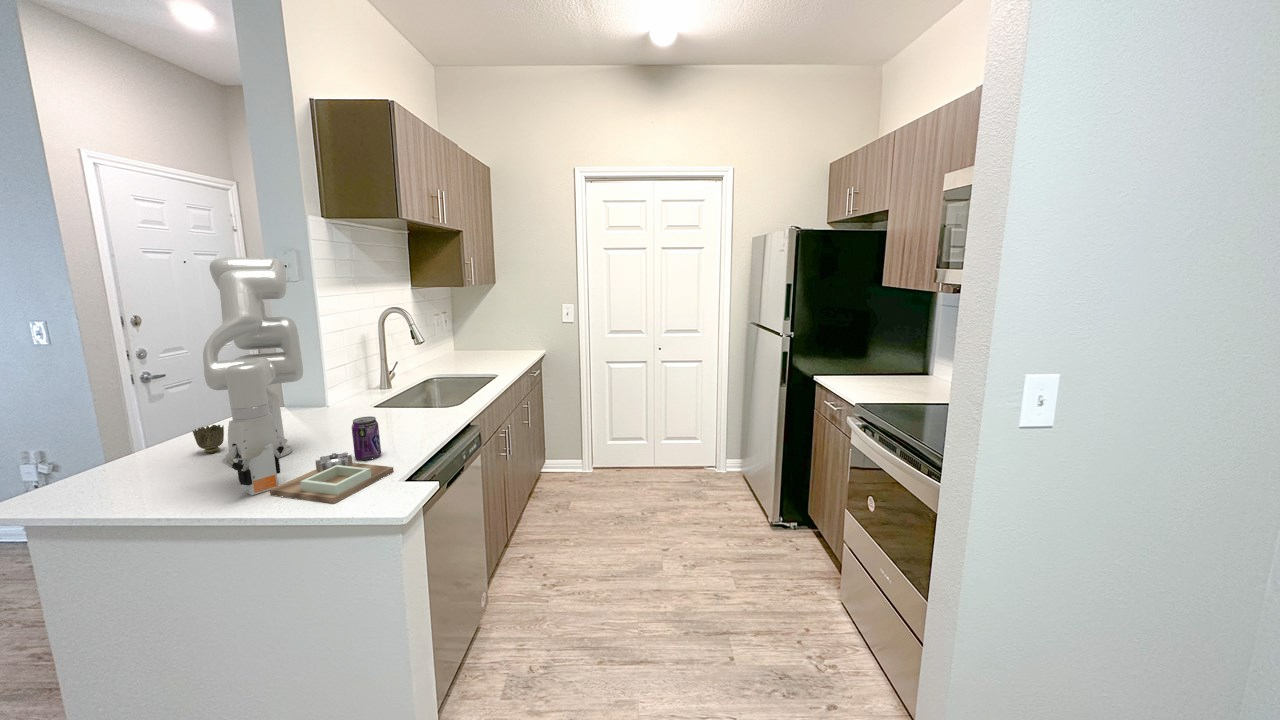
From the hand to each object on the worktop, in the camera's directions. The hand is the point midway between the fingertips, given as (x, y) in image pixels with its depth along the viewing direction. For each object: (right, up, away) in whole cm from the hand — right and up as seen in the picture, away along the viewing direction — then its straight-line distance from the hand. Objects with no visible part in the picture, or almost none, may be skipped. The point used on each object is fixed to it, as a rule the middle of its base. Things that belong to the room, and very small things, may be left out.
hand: (260, 478), depth 129 cm
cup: (-37, +1, +29) cm, 47 cm away
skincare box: (0, -3, +1) cm, 4 cm away
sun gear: (+13, 0, +11) cm, 17 cm away
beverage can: (+15, +1, +23) cm, 28 cm away
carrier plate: (+17, -2, +4) cm, 17 cm away
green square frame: (+20, -2, 0) cm, 20 cm away
